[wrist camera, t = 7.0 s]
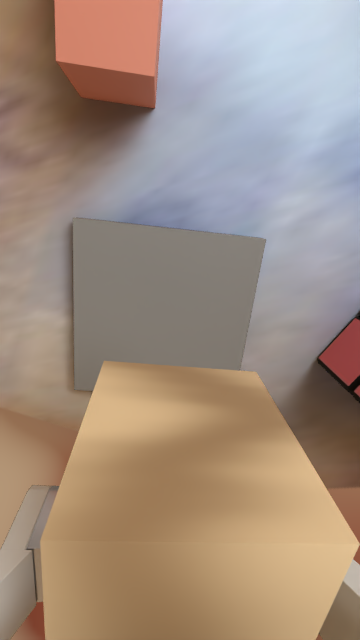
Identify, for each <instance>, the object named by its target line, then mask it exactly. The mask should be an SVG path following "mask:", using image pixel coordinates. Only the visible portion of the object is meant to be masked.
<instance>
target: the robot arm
mask: <svg viewBox="0 0 360 640" xmlns="http://www.w3.org/2000/svg"><path fill="white" fill-rule="evenodd" d="M58 489H59V486H41V485H32V486H31V487H30V489H29V490H28V491H27V493H26V495H25V498H24V500H23V502H22V504H21V506H20V508H19V510H18V513H17V515H16V517H15V519H14V521H13V523H12V525H11V528H10V530H9V532H8V534H7V536H6V538H5V541H4V543H3V545H2V547H1V549H0V640H10V639H11V638H12V637H13V635H14V634H15V633H16V631H17V630H18V629H19V627H20V626H21V625H22V623H23V622H24V621H25V619H26V618H27V617H28V615H29V614H30V613H31V611H32V610H33V609H34V607H35V606H36V602H43V585H42V566H41V546H40V540H41V537H42V534H43V531H44V528H45V526H46V523H47V520H48V517H49V514H50V511H51V509H52V506H53V503H54V500H55V497H56V495H57V492H58ZM319 634H320V636H321V637H322V638H323V640H360V565H359V564H358V563H357V562H356V561H354V560H352V562H351V564H350V567H349V569H348V571H347V573H346V575H345V577H344V580H343V582H342V584H341V586H340V588H339V590H338V593H337V595H336V597H335V599H334V601H333V603H332V606H331V608H330V610H329V612H328V614H327V616H326V619H325V621H324V623H323V625H322V627H321V629H320V631H319Z"/></svg>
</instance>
